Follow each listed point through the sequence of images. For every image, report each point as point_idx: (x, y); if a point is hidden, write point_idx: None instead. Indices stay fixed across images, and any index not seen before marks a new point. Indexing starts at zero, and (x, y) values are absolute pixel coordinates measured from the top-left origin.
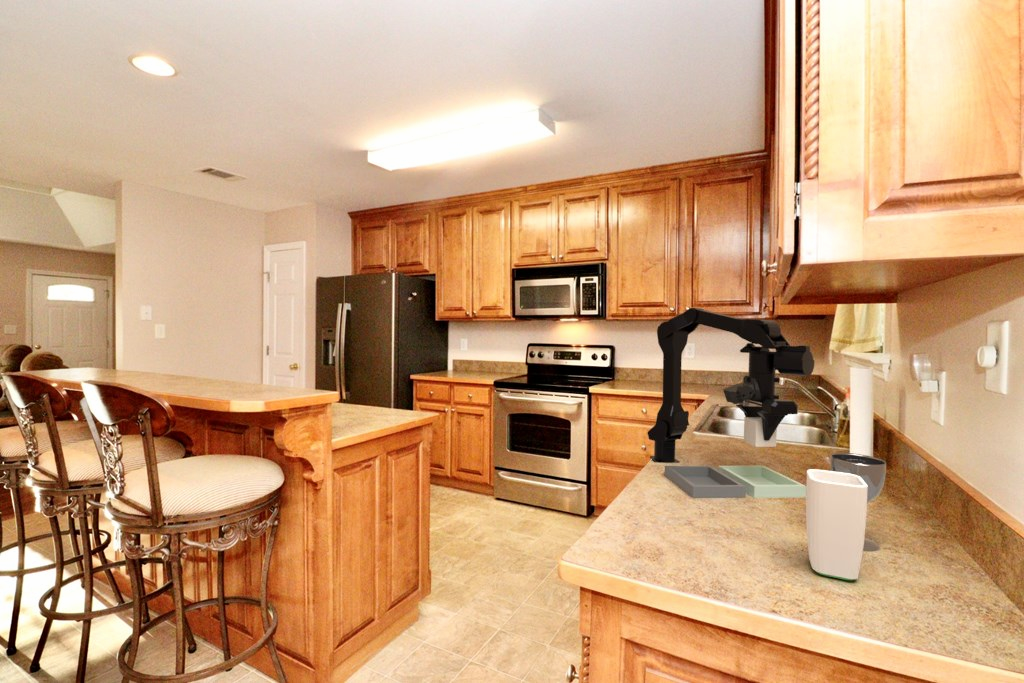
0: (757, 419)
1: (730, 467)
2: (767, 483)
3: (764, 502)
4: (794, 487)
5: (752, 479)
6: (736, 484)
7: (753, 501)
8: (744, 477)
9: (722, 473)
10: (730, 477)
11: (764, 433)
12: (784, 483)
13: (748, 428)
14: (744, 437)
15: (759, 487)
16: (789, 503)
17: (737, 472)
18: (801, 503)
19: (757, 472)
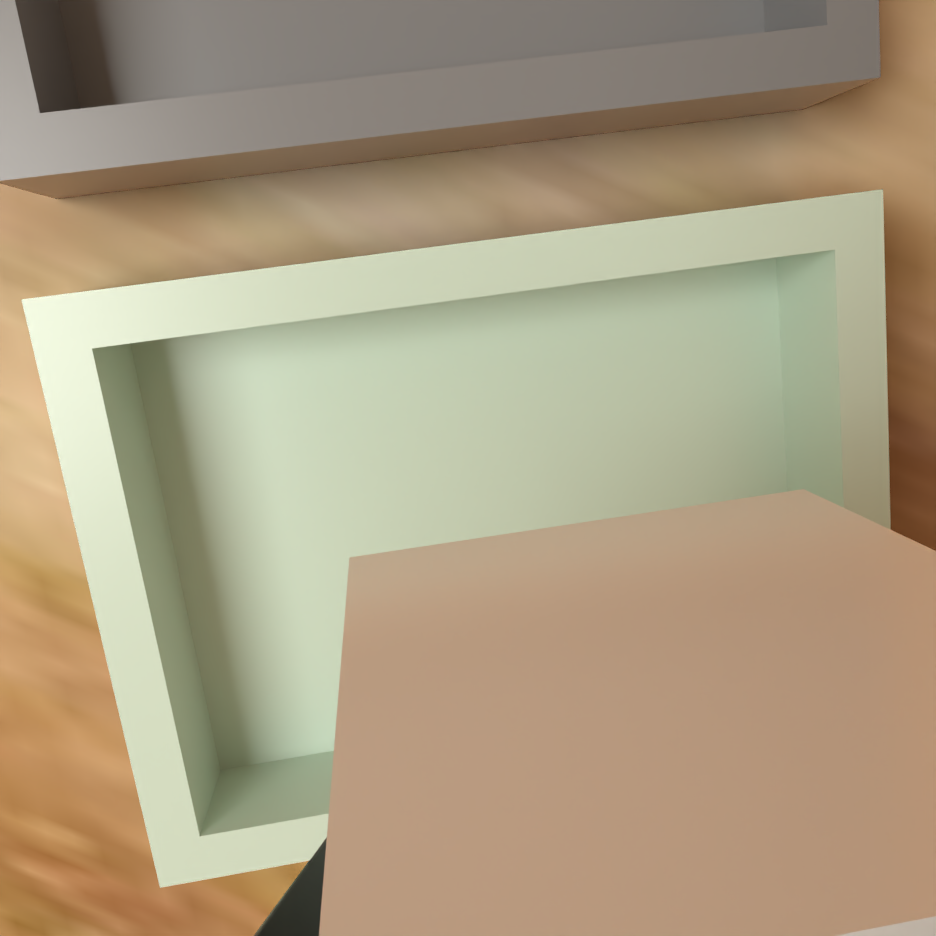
0: None
1: (832, 336)
2: None
3: (18, 374)
4: (134, 760)
5: None
6: (106, 108)
7: (26, 268)
8: (752, 478)
9: (531, 96)
10: (359, 133)
11: (277, 921)
12: None
13: (798, 650)
14: (825, 516)
15: (45, 363)
16: (42, 609)
17: (805, 420)
18: (66, 718)
19: None
